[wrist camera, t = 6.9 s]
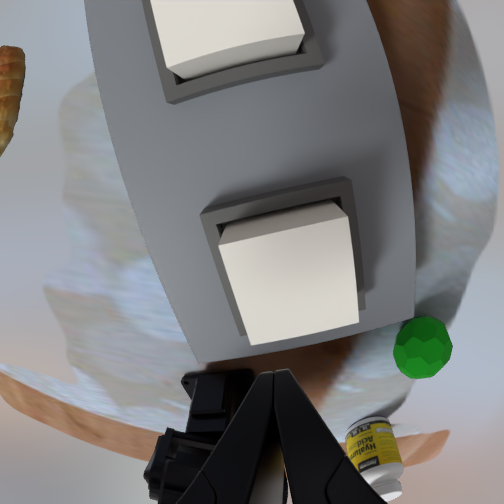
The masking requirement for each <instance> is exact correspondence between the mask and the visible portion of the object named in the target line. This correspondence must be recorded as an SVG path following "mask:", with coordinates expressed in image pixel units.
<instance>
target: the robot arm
mask: <svg viewBox="0 0 504 504" xmlns="http://www.w3.org/2000/svg"><path fill="white" fill-rule="evenodd" d="M246 374H249V375H246ZM181 384H182V385H183V387H184V389H185V390H186V392H187V394H188V395H189V397H190V398H191V400H192V402H191V406H190V410H189V418H188V422H187V427H186V431H185V433H184V432H180V431H176V430H174V429H172V428H168V427H167V429H166V432H165V435H162V436H159V437H158V440H157V444H156V447H155V451H154V453H153V455H152V457H151V459H150V461H149V463H148V465H147V467H146V469H145V471H144V479H145V480H146V482H147V483H148V489H149V490H150V491H149V497H150V499H153V500H156V501H158V504H286V503H287V497H288V483H287V478H288V482H289V487H290V493H291V498H292V503H293V504H388V503H387V502H386V501H385V500H384V499H383V498H382V497H381V496H380V495H379V494H378V493H377V492H376V491H375V490H374V489H373V488H372V487H371V486H370V485H369V484H368V482H367V481H366V480H365V479H364V478H363V476H362V475H361V474H360V472H359V471H358V470H357V468H356V467H355V466H354V464H353V463H352V462H351V460H350V459H349V457H348V456H346V453H345V452H344V450H343V449H342V447H341V446H340V444H339V443H338V442H337V440H336V439H335V437H334V436H333V434H332V433H331V431H330V430H329V428H328V427H327V425H326V424H325V422H324V421H323V419H322V418H321V416H320V415H319V413H318V412H317V410H316V409H315V407H314V406H313V404H312V403H311V401H310V400H309V398H308V397H307V395H306V394H305V392H304V391H303V389H302V387H301V386H300V384H299V383H298V381H297V380H296V378H295V377H294V375H293V374H292V372H291V371H290V369H281V370H276V371H275V372H272V371H269V372H263V373H259V374H258V376H257V377H256V376H255V374H254V372H253V370H251V369H242V370H235V371H227V372H219V373H211V374H202V375H192V376H184V377H182V380H181ZM284 463H285V468H286V473H287V477H286V473H285V468H284Z"/></svg>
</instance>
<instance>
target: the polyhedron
mask: <svg viewBox="0 0 504 504" xmlns="http://www.w3.org/2000/svg"><path fill="white" fill-rule="evenodd" d="M452 347H453V345H452V343H451V340H450V337H449V335H448V332H447V330H446V327H445V325H444V323H442V322H441V321H439V320H437V319H435V318H432V317H427V316H424V317H419V318H415V319H413V320H411V321H410V322H409V323H408V324H406V325H405V327H404V328H403V329H402V330H401V331H400V332H399V333H398V335H397V337H396V342H395V346H394V351H393V356H394V358H395V361H396V364H397V367H398V368H399V369H400V371H401V372H402V373H404V374H405V375H406V376H408V377H409V378H415V379H421V378H428V377H432V376H434V375H435V374H436V373H437V372H438V371H439V370H440V369H441V368H442V367H443V366H444V365H445V364H446V363H447V362H448V361H449V359H450V356H451V352H452Z"/></svg>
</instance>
